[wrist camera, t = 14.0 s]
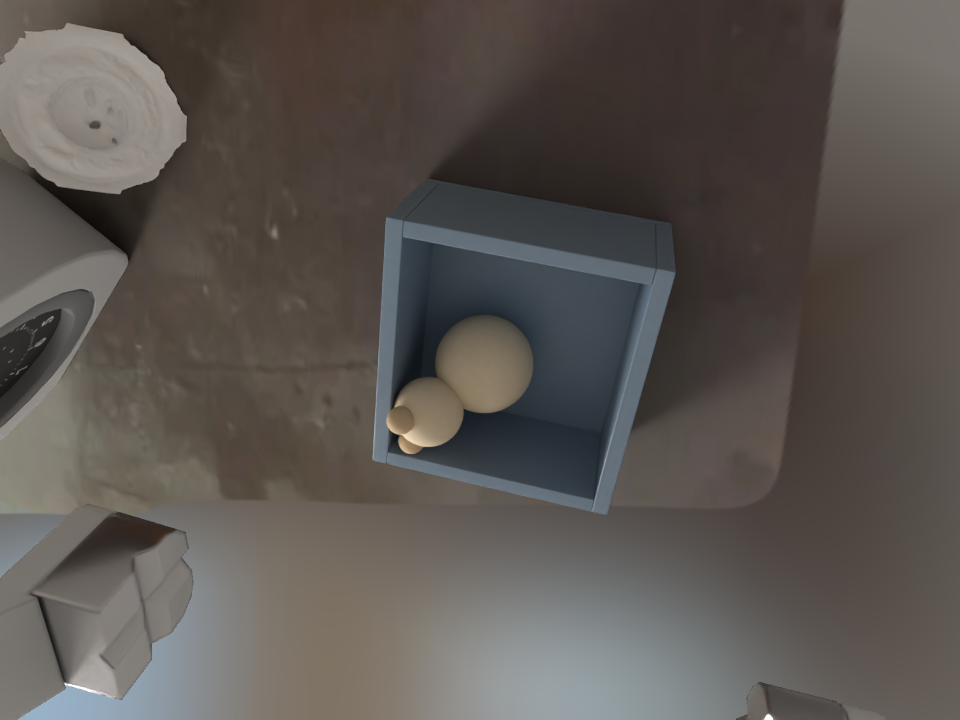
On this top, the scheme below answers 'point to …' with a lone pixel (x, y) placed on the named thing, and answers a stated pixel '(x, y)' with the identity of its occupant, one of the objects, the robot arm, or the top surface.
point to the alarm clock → (45, 290)
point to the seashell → (88, 109)
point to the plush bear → (463, 381)
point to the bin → (525, 332)
